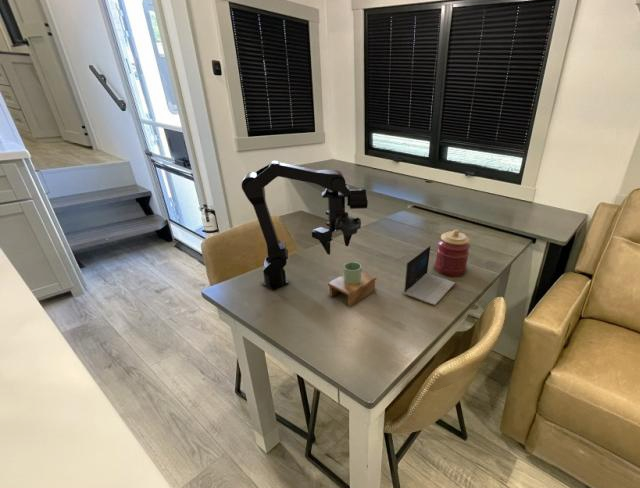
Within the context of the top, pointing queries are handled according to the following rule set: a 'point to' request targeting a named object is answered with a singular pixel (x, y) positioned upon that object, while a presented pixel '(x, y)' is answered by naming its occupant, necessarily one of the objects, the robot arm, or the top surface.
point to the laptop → (424, 280)
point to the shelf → (353, 287)
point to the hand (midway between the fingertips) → (337, 250)
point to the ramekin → (352, 273)
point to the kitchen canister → (452, 253)
